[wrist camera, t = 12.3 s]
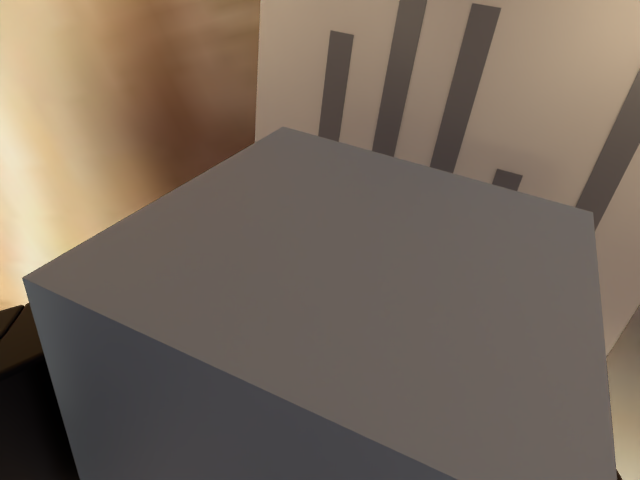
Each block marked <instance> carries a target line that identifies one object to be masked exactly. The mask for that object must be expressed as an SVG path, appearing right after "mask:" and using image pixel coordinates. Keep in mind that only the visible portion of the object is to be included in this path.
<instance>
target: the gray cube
mask: <svg viewBox="0 0 640 480" xmlns="http://www.w3.org/2000/svg"><path fill="white" fill-rule="evenodd" d="M22 279H23V282H24V286H25V289H26V293H27V296H28V300H29V303H30V307H31V310H32V314H33V317H34V321H35V324H36V328H37V331H38V335H39V338H40V342H41V345H42V349H43V352H44V356H45V359H46V363H47V366H48V370H49V373H50V377H51V380H52V384H53V387H54V391H55V394H56V398H57V401H58V405H59V408H60V411H61V415H62V418H63V422H64V425H65V429H66V432H67V436H68V439H69V443H70V446H71V450H72V453H73V457H74V460H75V464H76V467H77V471H78V474H79V478H80V480H617V473H616V462H615V451H614V439H613V428H612V417H611V406H610V395H609V384H608V373H607V361H606V350H605V339H604V328H603V317H602V306H601V295H600V284H599V272H598V261H597V250H596V239H595V228H594V217H593V212H590V211H587V210H583V209H579V208H576V207H572V206H569V205H565V204H561V203H558V202H554V201H551V200H547V199H543V198H540V197H536V196H532V195H529V194H525V193H522V192H518V191H514V190H511V189H507V188H504V187H500V186H496V185H493V184H489V183H486V182H482V181H478V180H475V179H471V178H467V177H464V176H460V175H457V174H453V173H449V172H446V171H442V170H439V169H435V168H431V167H428V166H424V165H421V164H417V163H413V162H410V161H406V160H402V159H399V158H395V157H392V156H388V155H384V154H381V153H377V152H374V151H370V150H366V149H363V148H359V147H356V146H352V145H348V144H345V143H341V142H337V141H334V140H330V139H327V138H323V137H319V136H316V135H312V134H309V133H305V132H301V131H298V130H294V129H290V128H287V127H281V128H280V129H278V130H276V131H274V132H273V133H271V134H269V135H268V136H266V137H264V138H262V139H261V140H259V141H257V142H255V143H254V144H252V145H250V146H249V147H247V148H245V149H243V150H242V151H240V152H238V153H236V154H235V155H233V156H231V157H230V158H228V159H226V160H224V161H223V162H221V163H219V164H217V165H216V166H214V167H212V168H211V169H209V170H207V171H205V172H204V173H202V174H200V175H199V176H197V177H195V178H193V179H192V180H190V181H188V182H186V183H185V184H183V185H181V186H180V187H178V188H176V189H174V190H173V191H171V192H169V193H167V194H166V195H164V196H162V197H161V198H159V199H157V200H155V201H154V202H152V203H150V204H149V205H147V206H145V207H143V208H142V209H140V210H138V211H136V212H135V213H133V214H131V215H130V216H128V217H126V218H124V219H123V220H121V221H119V222H117V223H116V224H114V225H112V226H111V227H109V228H107V229H105V230H104V231H102V232H100V233H99V234H97V235H95V236H93V237H92V238H90V239H88V240H86V241H85V242H83V243H81V244H80V245H78V246H76V247H74V248H73V249H71V250H69V251H67V252H66V253H64V254H62V255H61V256H59V257H57V258H55V259H54V260H52V261H50V262H49V263H47V264H45V265H43V266H42V267H40V268H38V269H36V270H35V271H33V272H31V273H30V274H28V275H26V276H24V277H23V278H22Z"/></svg>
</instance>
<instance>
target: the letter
mask: <svg viewBox="0 0 640 480" xmlns="http://www.w3.org/2000/svg"><path fill="white" fill-rule="evenodd" d="M281 127H287V128H290V129H294V130H298V131H301V132H305V133H309V134H312V135H316V136H319V137H323V138H327V139H330V140H334V141H337V142H341V143H345V144H348V145H352V146H356V147H359V148H363V149H366V150H370V151H374V152H377V153H381V154H384V155H388V156H392V157H395V158H399V159H402V160H406V161H410V162H413V163H417V164H421V165H424V166H428V167H431V168H435V169H439V170H442V171H446V172H449V173H453V174H457V175H460V176H464V177H467V178H471V179H475V180H478V181H482V182H486V183H489V184H493V185H496V186H500V187H504V188H507V189H511V190H514V191H518V192H522V193H525V194H529V195H532V196H536V197H540V198H543V199H547V200H551V201H554V202H558V203H561V204H565V205H569V206H572V207H576V208H579V209H583V210H587V211H590V212H593V217H594V228H595V239H596V250H597V261H598V272H599V284H600V295H601V306H602V317H603V328H604V339H605V350H606V357H607V356H608V354H609V353H610V351H611V349H612V348H613V346H614V345H615V343H616V341H617V340H618V338H619V337H620V335H621V334H622V332H623V330H624V329H625V327H626V326H627V324H628V322H629V321H630V319H631V318H632V316H633V314H634V313H635V311H636V310H637V308H638V307H639V305H640V0H261V1H260V25H259V50H258V74H257V99H256V123H255V142H257V141H259V140H261V139H262V138H264V137H266V136H268V135H269V134H271V133H273V132H274V131H276V130H278V129H280V128H281Z"/></svg>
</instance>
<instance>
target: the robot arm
mask: <svg viewBox="0 0 640 480" xmlns="http://www.w3.org/2000/svg"><path fill="white" fill-rule="evenodd" d="M616 473H617V480H622V478H621V476H620V475H619V473H618V471H617V469H616ZM0 480H80V478H79V474H78V471H77V467H76V464H75V460H74V457H73V453H72V450H71V446H70V443H69V439H68V436H67V432H66V429H65V425H64V422H63V418H62V415H61V411H60V408H59V405H58V401H57V398H56V394H55V391H54V387H53V384H52V380H51V377H50V373H49V370H48V366H47V363H46V359H45V356H44V352H43V349H42V345H41V342H40V338H39V335H38V331H37V328H36V324H35V321H34V317H33V314H32V310H31V307H30V303H27V304H26V305H25V306H23V305H19V306H15V307H12V308H8V309H5V310H1V311H0Z"/></svg>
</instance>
